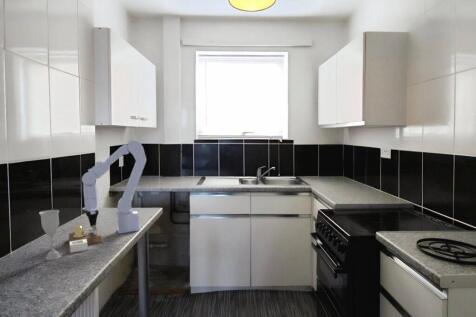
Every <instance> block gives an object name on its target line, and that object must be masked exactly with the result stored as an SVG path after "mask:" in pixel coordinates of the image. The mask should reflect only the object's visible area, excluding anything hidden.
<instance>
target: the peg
mask: <svg viewBox="0 0 476 317" xmlns="http://www.w3.org/2000/svg"><path fill="white" fill-rule="evenodd" d="M83 231H84V230H83V226H82V225H76V226H74V232H75V235H74V236H73V237H74V238H82V237H85V234H84V233H83Z"/></svg>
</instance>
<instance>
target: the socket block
mask: <svg viewBox="0 0 476 317" xmlns="http://www.w3.org/2000/svg"><path fill="white" fill-rule="evenodd" d="M84 231H85V230H83V233H84ZM74 235H75V231H74V232H70V233H68V241H69V243H70V241H76V240H82V239H87V245H88V246H89V245H95V244H100V243H102V234H101V232H100V229H99V228H97V234H96V235H94V234H93V233H86V234H85V237H82V238H74V237H73V236H74Z"/></svg>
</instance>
